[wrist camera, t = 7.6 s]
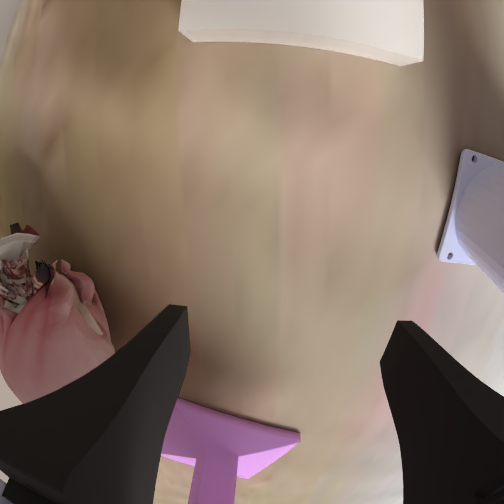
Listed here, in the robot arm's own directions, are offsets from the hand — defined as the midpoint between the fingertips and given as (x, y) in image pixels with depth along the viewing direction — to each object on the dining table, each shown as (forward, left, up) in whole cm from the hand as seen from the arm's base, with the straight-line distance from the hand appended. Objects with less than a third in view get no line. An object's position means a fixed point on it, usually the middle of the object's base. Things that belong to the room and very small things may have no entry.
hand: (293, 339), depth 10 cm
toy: (+17, +7, -10) cm, 21 cm away
